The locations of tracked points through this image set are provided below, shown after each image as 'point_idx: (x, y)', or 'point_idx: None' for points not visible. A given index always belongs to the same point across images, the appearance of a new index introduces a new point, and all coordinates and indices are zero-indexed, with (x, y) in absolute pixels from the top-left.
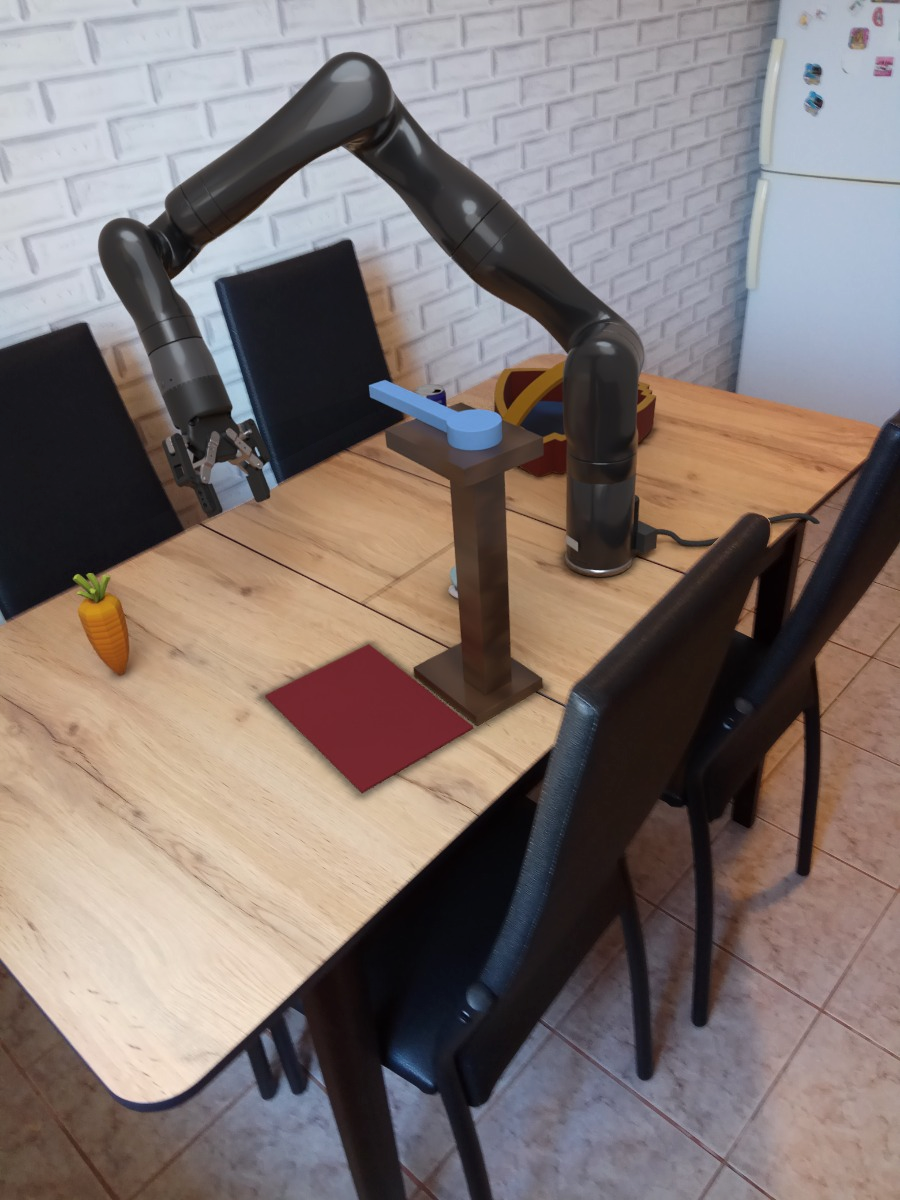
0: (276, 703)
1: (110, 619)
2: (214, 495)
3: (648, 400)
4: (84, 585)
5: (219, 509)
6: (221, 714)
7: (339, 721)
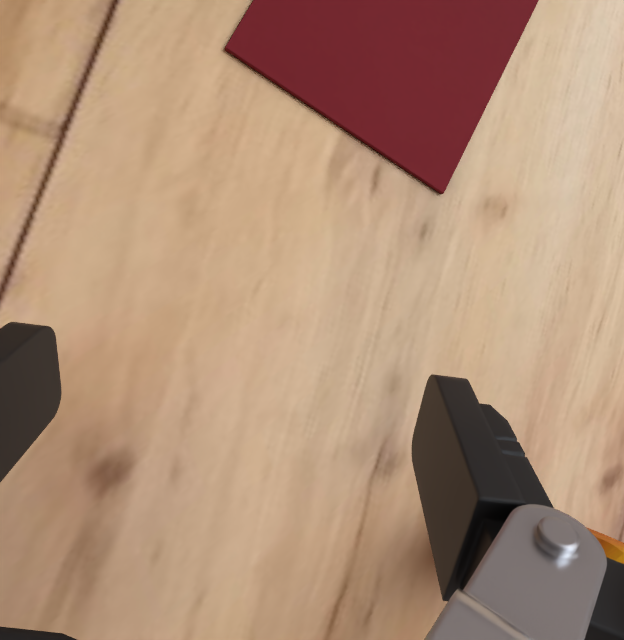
0: (455, 159)
1: (618, 542)
2: (479, 432)
3: None
4: None
5: (457, 380)
6: (503, 249)
7: (457, 21)
